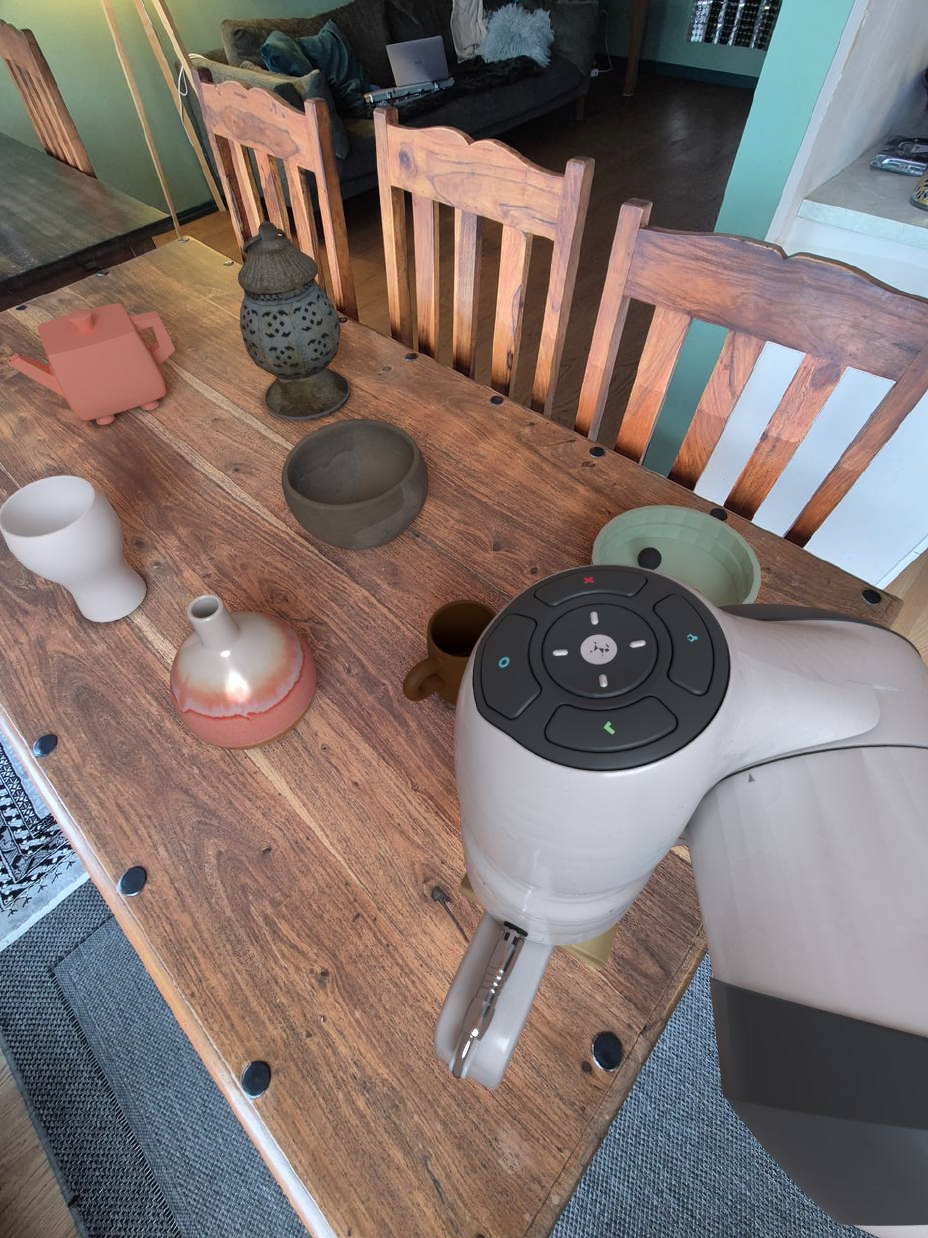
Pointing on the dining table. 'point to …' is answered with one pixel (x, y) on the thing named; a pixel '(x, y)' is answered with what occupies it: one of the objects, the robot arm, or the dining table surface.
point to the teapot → (101, 361)
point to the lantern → (290, 327)
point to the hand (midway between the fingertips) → (537, 908)
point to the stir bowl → (684, 550)
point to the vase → (240, 676)
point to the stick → (588, 951)
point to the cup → (73, 544)
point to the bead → (649, 558)
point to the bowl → (355, 483)
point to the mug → (447, 650)
